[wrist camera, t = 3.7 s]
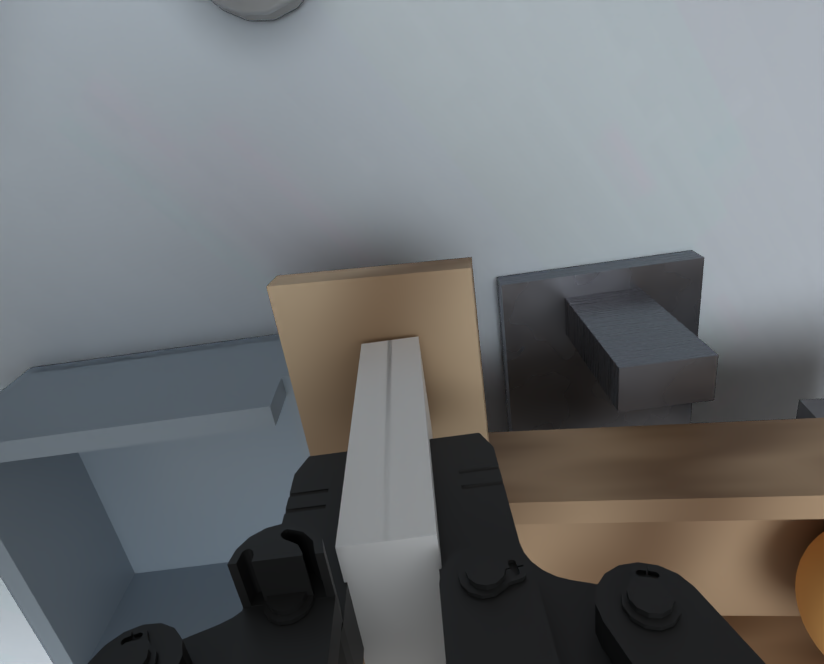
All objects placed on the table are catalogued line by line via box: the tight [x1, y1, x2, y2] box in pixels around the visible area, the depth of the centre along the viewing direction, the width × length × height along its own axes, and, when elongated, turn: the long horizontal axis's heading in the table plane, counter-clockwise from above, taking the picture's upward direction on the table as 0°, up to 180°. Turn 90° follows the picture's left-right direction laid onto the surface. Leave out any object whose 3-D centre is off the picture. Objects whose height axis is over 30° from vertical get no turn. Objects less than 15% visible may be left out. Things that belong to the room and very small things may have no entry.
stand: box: [497, 250, 718, 432], centre depth 23 cm, size 8×15×7 cm, turn 8°
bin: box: [0, 334, 310, 664], centre depth 24 cm, size 13×13×6 cm
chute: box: [267, 257, 824, 664], centre depth 18 cm, size 22×16×6 cm
